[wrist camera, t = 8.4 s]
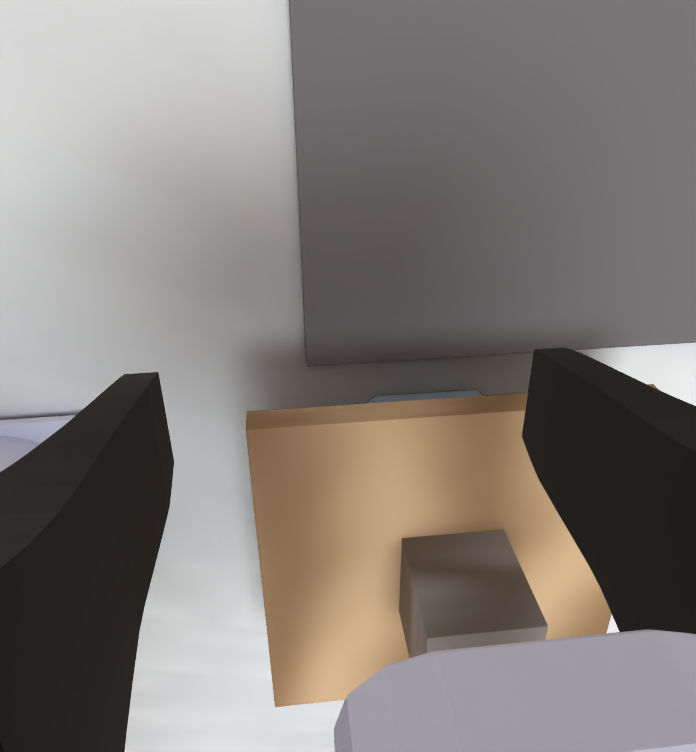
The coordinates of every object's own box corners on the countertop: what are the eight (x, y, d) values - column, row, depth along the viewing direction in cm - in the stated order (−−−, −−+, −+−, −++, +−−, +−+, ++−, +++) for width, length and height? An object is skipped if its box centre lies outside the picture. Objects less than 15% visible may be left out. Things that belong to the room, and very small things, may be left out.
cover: (274, 683, 26) (276, 817, 22) (246, 411, 20) (241, 523, 16) (584, 651, 27) (645, 772, 23) (652, 384, 21) (753, 481, 17)
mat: (306, 360, 24) (307, 366, 23) (276, -274, 15) (276, -281, 15) (744, 334, 25) (751, 338, 25) (933, -257, 17) (947, -262, 17)
